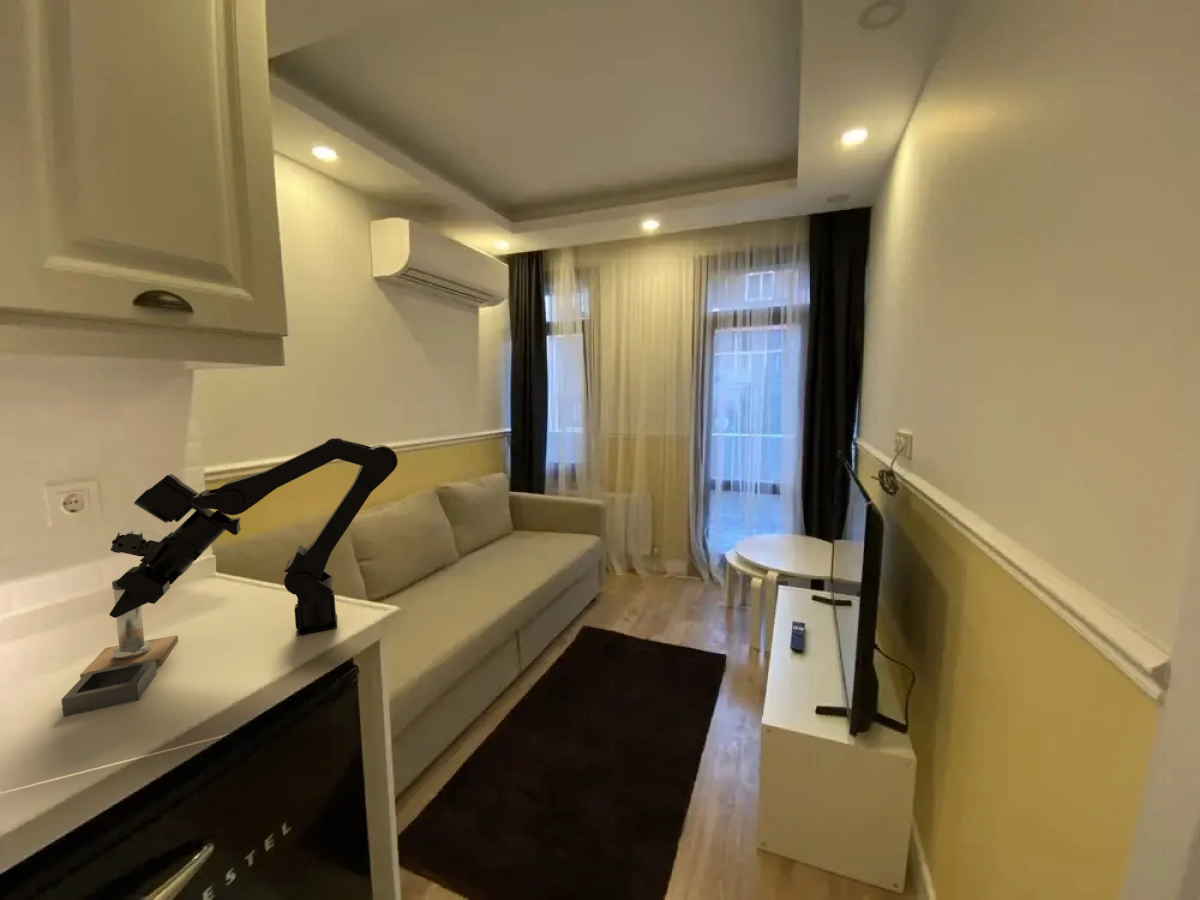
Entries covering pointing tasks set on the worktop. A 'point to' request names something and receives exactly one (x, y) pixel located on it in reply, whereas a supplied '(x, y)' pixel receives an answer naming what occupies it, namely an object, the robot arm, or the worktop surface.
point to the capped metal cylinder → (129, 631)
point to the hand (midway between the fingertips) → (117, 611)
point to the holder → (92, 698)
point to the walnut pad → (157, 652)
